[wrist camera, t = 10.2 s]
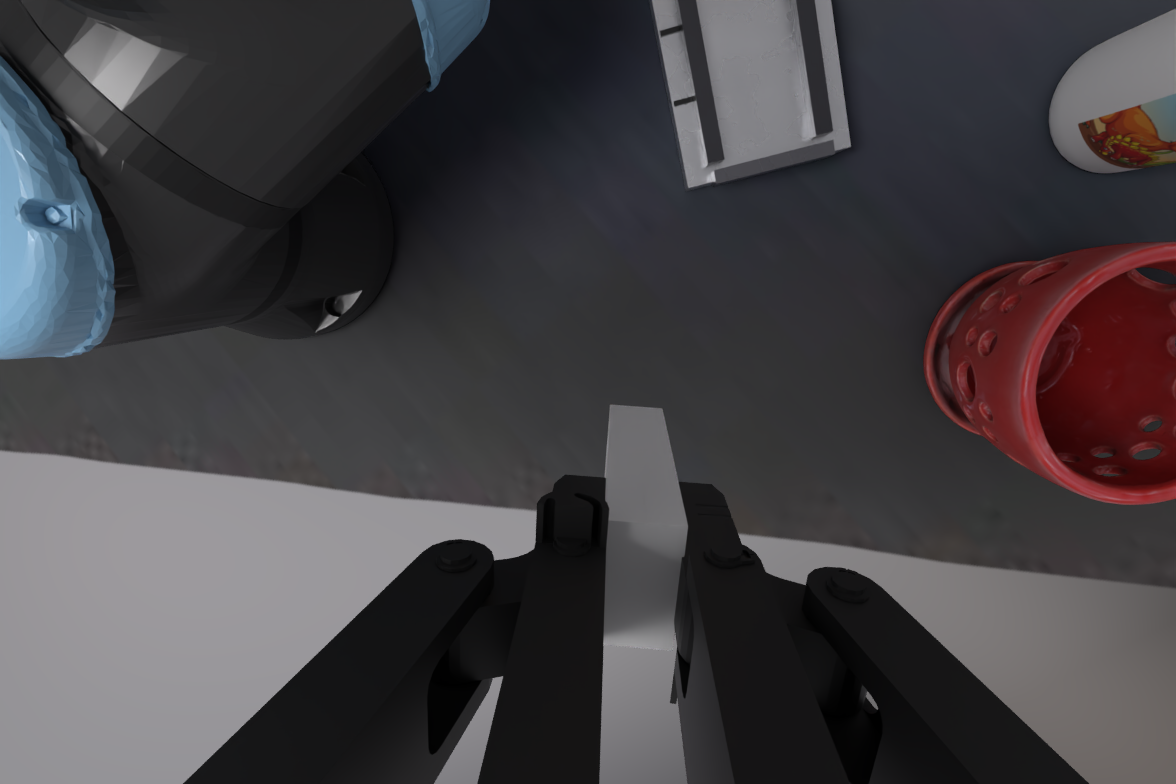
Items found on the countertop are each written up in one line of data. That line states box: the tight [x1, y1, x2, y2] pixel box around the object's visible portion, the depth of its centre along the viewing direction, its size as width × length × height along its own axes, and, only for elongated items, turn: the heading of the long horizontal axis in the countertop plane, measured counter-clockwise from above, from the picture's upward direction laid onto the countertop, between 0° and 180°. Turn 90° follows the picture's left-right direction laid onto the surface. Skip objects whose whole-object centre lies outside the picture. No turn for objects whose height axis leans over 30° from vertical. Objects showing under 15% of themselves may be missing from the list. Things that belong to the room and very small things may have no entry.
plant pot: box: [923, 242, 1176, 505], centre depth 34 cm, size 13×13×12 cm
